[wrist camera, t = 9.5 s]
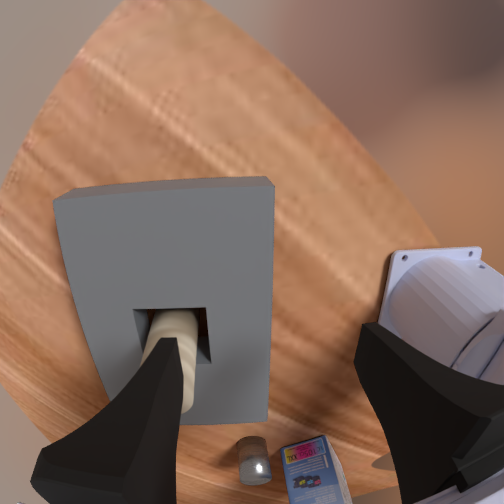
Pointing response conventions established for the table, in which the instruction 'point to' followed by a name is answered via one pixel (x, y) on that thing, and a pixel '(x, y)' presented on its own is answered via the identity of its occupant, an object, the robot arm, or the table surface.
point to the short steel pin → (253, 461)
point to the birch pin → (186, 331)
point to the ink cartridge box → (314, 473)
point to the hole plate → (177, 281)
